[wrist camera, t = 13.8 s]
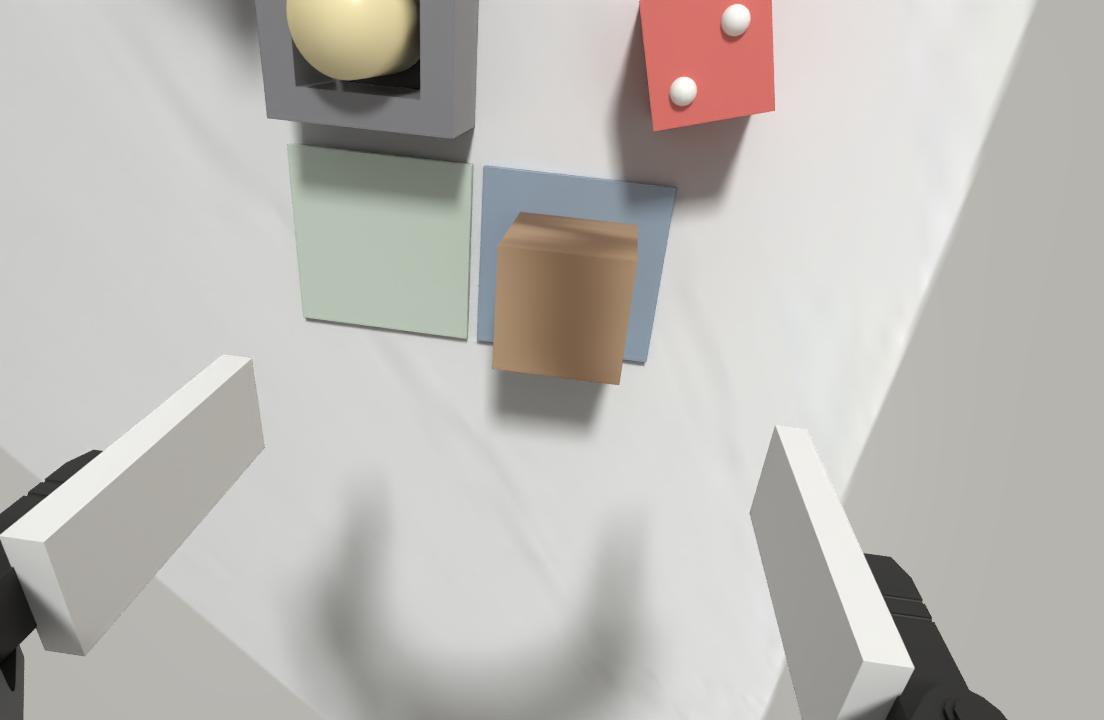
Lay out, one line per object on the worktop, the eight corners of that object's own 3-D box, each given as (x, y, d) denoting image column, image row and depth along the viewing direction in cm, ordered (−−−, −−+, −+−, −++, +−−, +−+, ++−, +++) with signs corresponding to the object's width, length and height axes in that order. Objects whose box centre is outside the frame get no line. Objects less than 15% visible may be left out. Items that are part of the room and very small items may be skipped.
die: (651, 118, 26) (653, 133, 22) (639, 5, 24) (639, -1, 20) (756, 99, 25) (777, 112, 21) (750, -19, 23) (773, -29, 19)
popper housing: (309, 108, 27) (267, 118, 24) (294, -94, 24) (242, -113, 21) (474, 126, 27) (452, 138, 24) (481, -77, 23) (456, -94, 20)
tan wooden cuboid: (514, 319, 30) (492, 368, 26) (520, 211, 28) (497, 245, 23) (622, 332, 30) (619, 385, 25) (637, 224, 27) (637, 261, 23)
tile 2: (478, 337, 31) (476, 340, 31) (485, 165, 27) (483, 166, 27) (646, 359, 30) (646, 362, 30) (675, 187, 27) (676, 188, 27)
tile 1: (305, 314, 32) (303, 317, 31) (290, 143, 28) (286, 144, 28) (468, 336, 31) (466, 338, 31) (473, 164, 27) (471, 165, 27)
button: (339, 69, 26) (292, 74, 22) (334, -38, 24) (281, -50, 20) (429, 78, 25) (395, 85, 22) (429, -29, 24) (392, -40, 20)
